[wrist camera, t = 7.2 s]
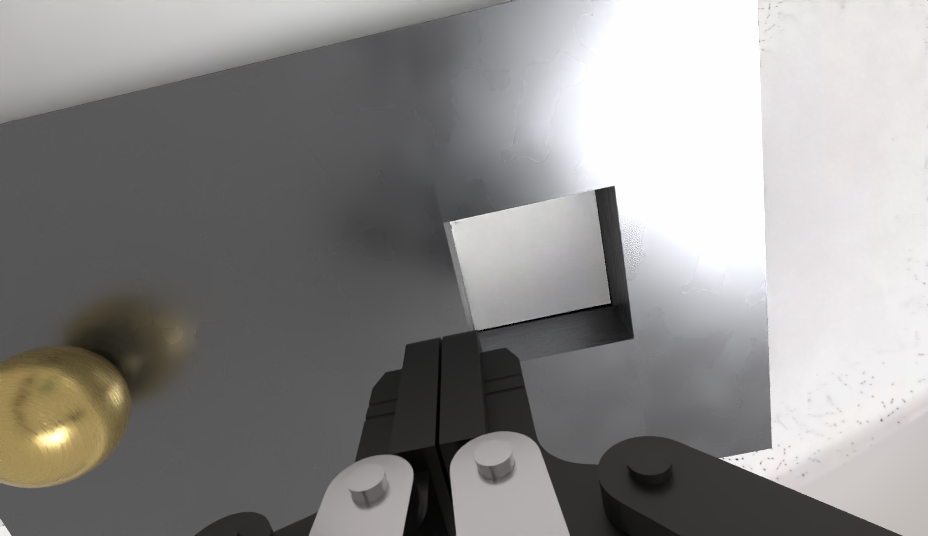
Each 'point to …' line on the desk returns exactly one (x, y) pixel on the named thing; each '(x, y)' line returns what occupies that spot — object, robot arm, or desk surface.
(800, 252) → the desk surface
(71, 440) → the brass knob
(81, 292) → the bore plate
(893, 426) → the desk surface
